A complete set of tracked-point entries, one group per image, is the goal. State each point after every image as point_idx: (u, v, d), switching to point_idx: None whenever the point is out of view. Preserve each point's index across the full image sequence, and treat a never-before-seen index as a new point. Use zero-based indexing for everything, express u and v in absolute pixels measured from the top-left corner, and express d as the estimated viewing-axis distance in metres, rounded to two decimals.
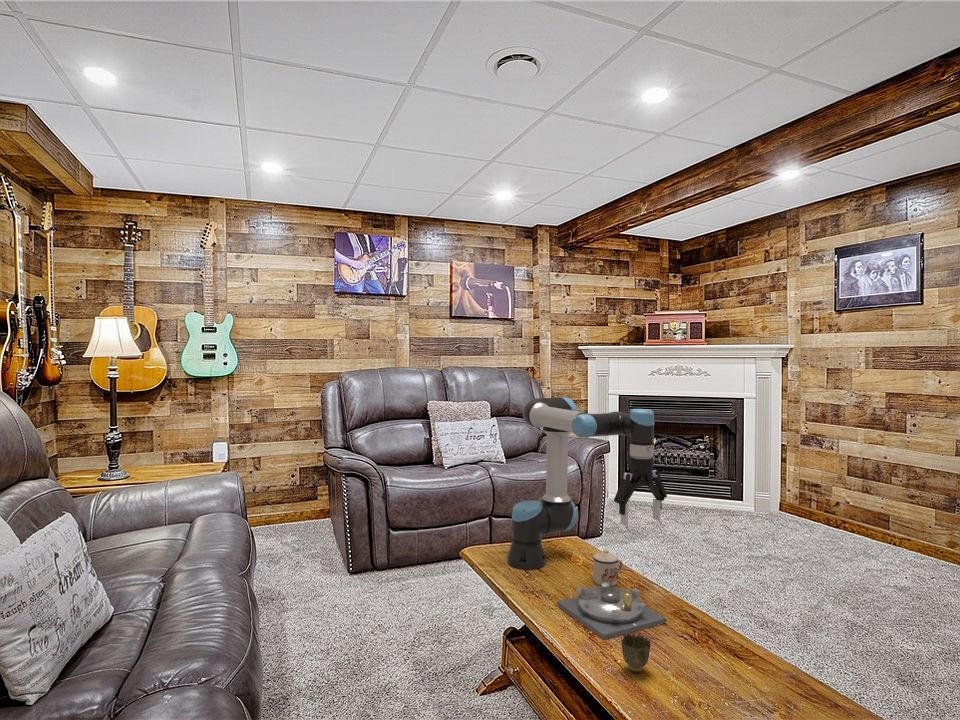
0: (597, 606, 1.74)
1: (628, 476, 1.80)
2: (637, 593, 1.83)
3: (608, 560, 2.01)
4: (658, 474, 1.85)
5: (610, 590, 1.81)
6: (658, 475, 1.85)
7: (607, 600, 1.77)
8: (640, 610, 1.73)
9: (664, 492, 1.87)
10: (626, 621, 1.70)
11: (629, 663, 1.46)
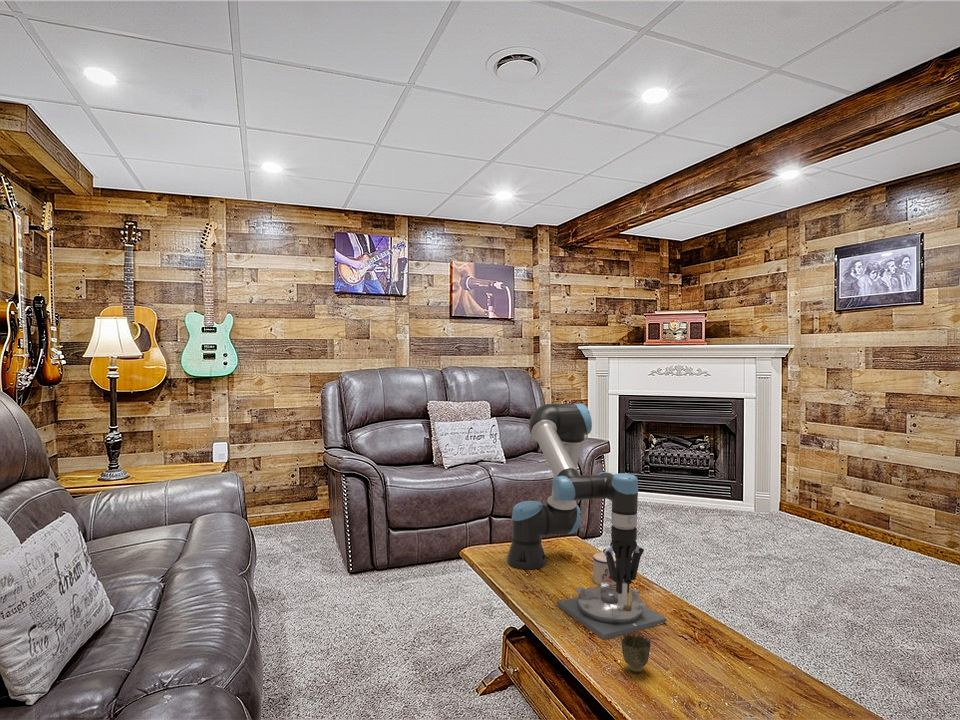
0: (598, 606, 1.74)
1: (608, 554, 1.68)
2: (637, 593, 1.83)
3: None
4: (641, 552, 1.72)
5: (610, 590, 1.81)
6: (640, 553, 1.72)
7: (607, 600, 1.77)
8: (640, 610, 1.73)
9: (635, 574, 1.71)
10: (626, 621, 1.70)
11: (629, 663, 1.46)
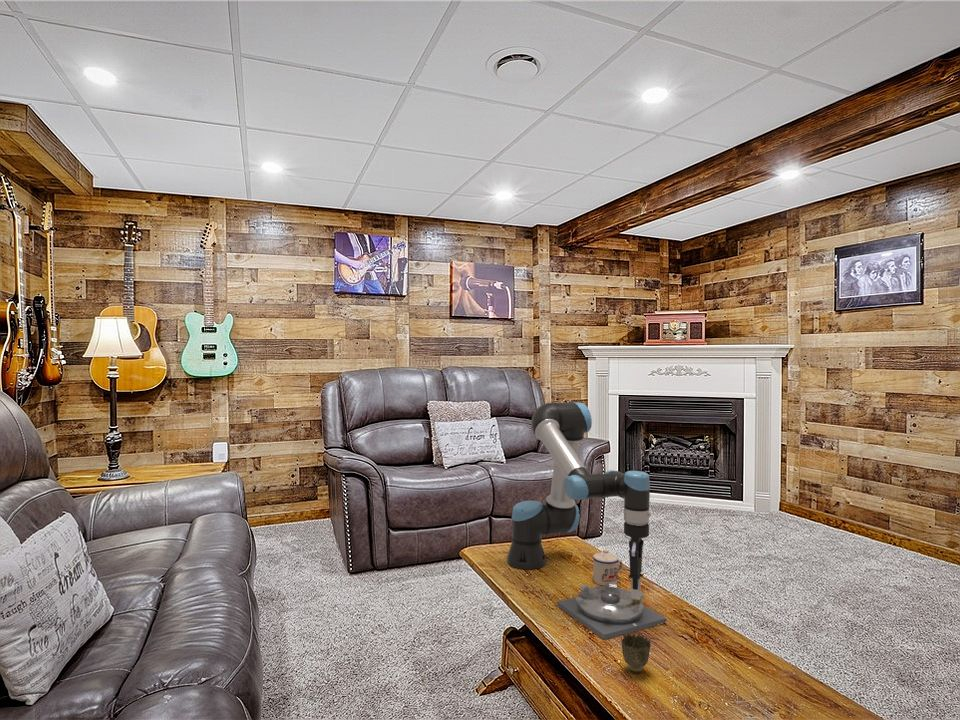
0: (616, 609, 1.72)
1: (637, 553, 1.69)
2: (616, 585, 1.88)
3: (608, 560, 2.01)
4: None
5: (607, 590, 1.80)
6: None
7: (615, 600, 1.76)
8: None
9: (641, 566, 1.78)
10: (642, 614, 1.74)
11: (629, 663, 1.46)
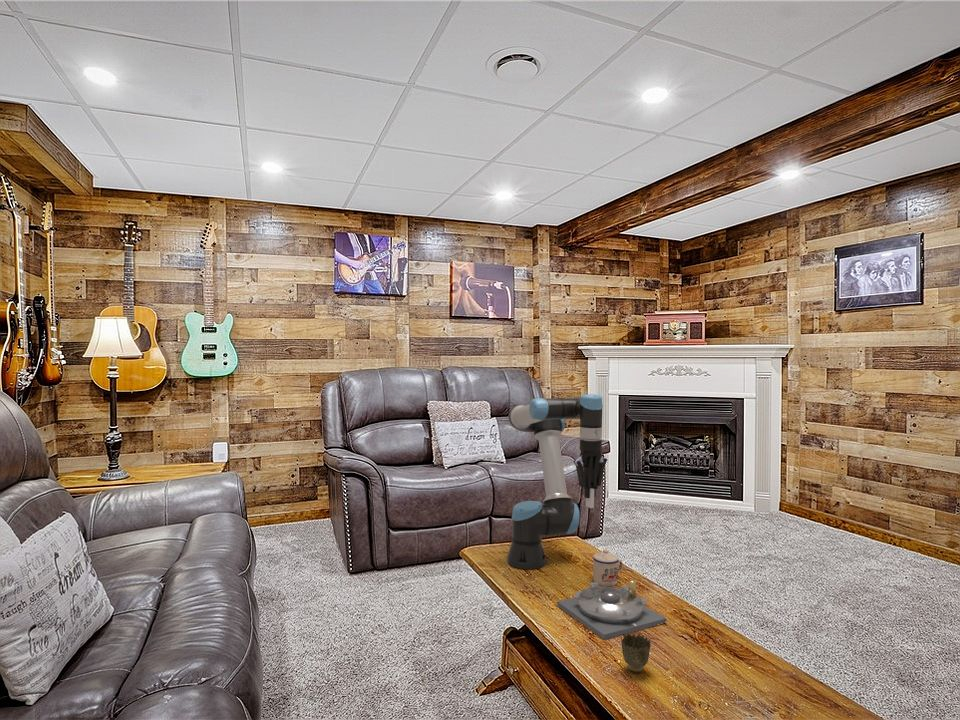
0: (629, 607, 1.73)
1: (579, 463, 1.92)
2: None
3: (608, 560, 2.01)
4: (605, 461, 1.97)
5: (605, 591, 1.80)
6: (604, 462, 1.97)
7: (619, 599, 1.77)
8: None
9: (600, 480, 1.96)
10: None
11: (629, 663, 1.46)
